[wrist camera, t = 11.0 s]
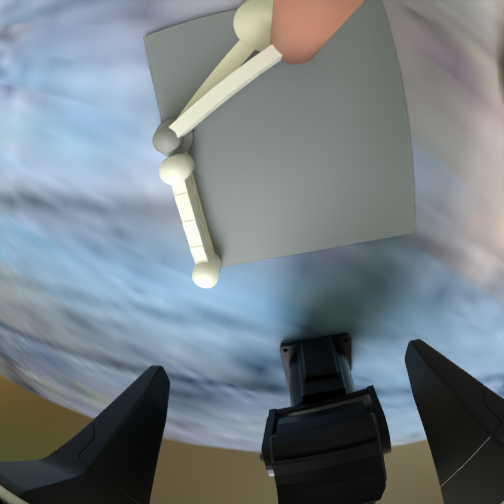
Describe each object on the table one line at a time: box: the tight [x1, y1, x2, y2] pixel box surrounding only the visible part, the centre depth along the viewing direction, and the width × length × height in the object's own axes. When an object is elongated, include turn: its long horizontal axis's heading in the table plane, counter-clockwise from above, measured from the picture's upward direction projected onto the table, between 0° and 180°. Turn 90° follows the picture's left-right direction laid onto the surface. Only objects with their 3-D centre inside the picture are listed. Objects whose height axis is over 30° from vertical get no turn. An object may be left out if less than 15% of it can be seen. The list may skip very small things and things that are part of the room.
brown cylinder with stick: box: [153, 0, 365, 153], centre depth 11 cm, size 12×3×11 cm, turn 129°
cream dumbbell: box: [159, 153, 222, 288], centre depth 20 cm, size 9×2×2 cm, turn 12°
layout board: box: [143, 0, 415, 267], centre depth 18 cm, size 19×17×1 cm
